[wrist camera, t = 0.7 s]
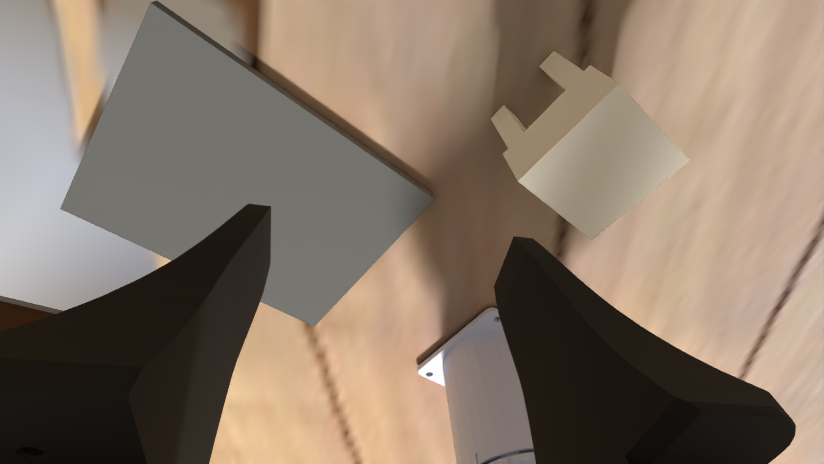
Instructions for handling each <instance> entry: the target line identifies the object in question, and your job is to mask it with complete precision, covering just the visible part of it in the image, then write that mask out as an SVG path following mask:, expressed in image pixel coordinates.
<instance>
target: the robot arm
mask: <svg viewBox="0 0 824 464" xmlns="http://www.w3.org/2000/svg"><path fill="white" fill-rule="evenodd" d="M270 263H271V206H265V205H257V204H247V205H246V206H244V207H243V208H242V209H241V210H239V211H238V212H237V213H236V214H235V215H233V216H232V217H231V218H230V219H229V220H227V221H226V222H225V223H224V224H222V225H221V226H220V227H219V228H217V229H216V230H215V231H214V232H212V233H211V234H210V235H208V236H207V237H206V238H204V239H203V240H202V241H200V242H199V243H198V244H196V245H195V246H193V247H192V248H190V249H189V250H187V251H186V252H184V253H183V254H182V255H180V256H179V257H177V258H176V259H174V260H172V261H171V262H169V263H167V264H166V265H164V266H162V267H160V268H159V269H157V270H155V271H153V272H151V273H150V274H148V275H146V276H144V277H142V278H140V279H138V280H136V281H134V282H132V283H130V284H127V285H125V286H123V287H121V288H119V289H117V290H114V291H112V292H110V293H108V294H106V295H104V296H101V297H99V298H96V299H94V300H92V301H89V302H86V303H84V304H81V305H79V306H77V307H73V308H71V309H68V310H65V311H62V312H60V313H57V314H54V315H51V316H48V317H45V318H42V319H39V320H36V321H33V322H29V323H26V324H23V325H20V326H16V327H13V328H10V329H6V330H3V331H0V464H209V461H210V457H211V453H212V449H213V445H214V441H215V437H216V433H217V430H218V426H219V422H220V418H221V414H222V410H223V407H224V403H225V399H226V396H227V392H228V388H229V385H230V381H231V377H232V374H233V371H234V368H235V365H236V362H237V359H238V356H239V354H240V351H241V349H242V346H243V344H244V341H245V339H246V336H247V333H248V331H249V328H250V326H251V323H252V321H253V318H254V316H255V313H256V311H257V308H258V305H259V303H260V300H261V298H262V295H263V292H264V288H265V284H266V280H267V276H268V272H269V268H270ZM494 289H495V295H496V302H497V308H498V309H496V308H488V309H486V310H485V311H484V312H482V313H481V314H480V315H479V316H478V317H476V318H475V319H474V320H473V321H472V322H470V323H469V324H468V325H467V326H466V327H464V328H463V329H462V330H461V331H460V332H458V333H457V334H456V335H455V336H454V337H452V338H451V339H450V340H449V341H448V342H446V343H445V344H444V345H443V346H442V347H440V348H439V349H438V350H437V351H436V352H434V353H433V354H432V355H431V356H430V357H428V358H427V359H426V360H425V361H424V362H422V363H421V364H420V365H419V366H418V367H417V372H418V374H419V375H421V376H423V377H425V378H428V379H430V380H432V381H434V382H436V383H438V384H441V385H443V386H445V388H446V395H447V401H448V408H449V415H450V421H451V428H452V435H453V441H454V448H455V455H456V461H457V464H768V463H770V462H771V461H772V460H773V459H774V458H776V457H777V456H778V455H779V454H781V453H782V452H783V451H784V450H785V449H786V448H787V447H788V446H789V445H790V444H791V442H792V440H793V438H794V436H795V429H796V425H795V423H794V422H793V420H792V419H791V418H790V416H789V415H788V414H787V413H786V412H785V411H784V409H783V408H782V407H781V406H780V405H779V403H778V402H777V401H776V400H775V399H774V398H773V396H772V395H771V394H770V393H769V392H767V391H765V390H763V389H761V388H759V387H756V386H754V385H752V384H750V383H747V382H745V381H743V380H740V379H738V378H736V377H734V376H731V375H729V374H727V373H725V372H722V371H720V370H718V369H716V368H714V367H712V366H710V365H708V364H706V363H704V362H702V361H700V360H698V359H696V358H694V357H692V356H691V355H689V354H687V353H685V352H683V351H681V350H680V349H678V348H676V347H674V346H672V345H671V344H669V343H667V342H666V341H664V340H662V339H661V338H659V337H657V336H656V335H654V334H652V333H651V332H649V331H648V330H646V329H644V328H643V327H641V326H640V325H638V324H637V323H635V322H634V321H633V320H631V319H630V318H628V317H627V316H625V315H624V314H622V313H621V312H620V311H618V310H617V309H615V308H614V307H613V306H611V305H610V304H609V303H608V302H606V301H605V300H604V299H603V298H601V297H600V296H599V295H598V294H596V293H595V292H594V291H593V290H591V289H590V288H589V287H588V286H587V285H585V284H584V283H583V282H582V281H581V280H580V279H578V278H577V277H576V276H575V275H574V274H573V273H572V272H571V271H569V270H568V269H567V268H566V267H565V266H564V265H563V264H562V263H561V262H559V261H558V260H557V259H556V258H555V257H554V256H553V255H552V254H551V253H549V252H548V251H547V250H546V249H545V248H544V247H542V246H541V245H540V244H539V243H538V242H536V241H535V240H534V239H531V238H523V237H515V236H514V237H513V240H512V242H511V245H510V248H509V250H508V253H507V255H506V258H505V260H504V263H503V265H502V268H501V270H500V273H499V275H498V278H497V281H496V283H495V286H494ZM496 317H498V318H496Z"/></svg>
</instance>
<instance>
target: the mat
mask: <svg viewBox="0 0 824 464" xmlns="http://www.w3.org/2000/svg"><path fill="white" fill-rule="evenodd" d="M434 200H435V198H434V194H433V193H432V192H430V191H429V190H427V189H426V188H424V187H423V186H421V185H420V184H419V183H417V182H416V181H414V180H413V179H411V178H410V177H409V176H407V175H406V174H404V173H403V172H401V171H400V170H399V169H397V168H396V167H394V166H393V165H391V164H390V163H389V162H387V161H386V160H384V159H383V158H381V157H380V156H379V155H377V154H376V153H374V152H373V151H371V150H370V149H369V148H367V147H366V146H364V145H363V144H361V143H360V142H358V141H357V140H356V139H354V138H353V137H351V136H350V135H348V134H347V133H346V132H344V131H343V130H341V129H340V128H338V127H337V126H336V125H334V124H333V123H331V122H330V121H328V120H327V119H326V118H324V117H323V116H321V115H320V114H318V113H317V112H316V111H314V110H313V109H311V108H310V107H308V106H307V105H306V104H304V103H303V102H301V101H300V100H298V99H297V98H295V97H294V96H293V95H291V94H290V93H288V92H287V91H285V90H284V89H283V88H281V87H280V86H278V85H277V84H275V83H274V82H273V81H271V80H270V79H268V78H267V77H265V76H264V75H263V74H261V73H260V72H258V71H257V70H255V69H254V68H253V67H251V66H250V65H248V64H247V63H245V62H244V61H243V60H241V59H240V58H238V57H237V56H235V55H234V54H233V53H231V52H230V51H228V50H227V49H225V48H224V47H222V46H221V45H220V44H218V43H217V42H215V41H214V40H212V39H211V38H209V37H208V36H207V35H205V34H204V33H202V32H201V31H200V30H198V29H197V28H195V27H194V26H192V25H191V24H189V23H188V22H187V21H185V20H184V19H182V18H181V17H180V16H178V15H177V14H175V13H174V12H172V11H171V10H169V9H168V8H167V7H165V6H164V5H162V4H161V3H159V2H158V1H155V2H152V3H150V6H149V8H148V10H147V13H146V15H145V17H144V19H143V22H142V24H141V26H140V29H139V31H138V33H137V35H136V38H135V40H134V42H133V44H132V47H131V49H130V51H129V53H128V56H127V58H126V60H125V63H124V65H123V67H122V69H121V72H120V74H119V76H118V78H117V81H116V83H115V85H114V88H113V90H112V92H111V94H110V97H109V99H108V101H107V103H106V106H105V108H104V110H103V113H102V115H101V117H100V119H99V122H98V124H97V126H96V129H95V131H94V133H93V135H92V138H91V140H90V142H89V144H88V147H87V149H86V151H85V154H84V156H83V158H82V160H81V163H80V165H79V167H78V169H77V172H76V174H75V176H74V179H73V181H72V183H71V185H70V188H69V190H68V192H67V195H66V197H65V199H64V202H63V204H62V206H61V208H60V209H62V210H64V211H66V212H69V213H70V214H73V215H75V216H77V217H79V218H82V219H84V220H86V221H88V222H90V223H92V224H94V225H96V226H98V227H101V228H103V229H105V230H107V231H109V232H112V233H114V234H116V235H118V236H120V237H122V238H124V239H127V240H129V241H131V242H133V243H135V244H137V245H140V246H142V247H144V248H146V249H148V250H150V251H152V252H155V253H157V254H159V255H161V256H163V257H165V258H168V259H170V260H174V259H176V258H177V257H179V256H180V255H182V254H183V253H184V252H186V251H187V250H189V249H190V248H192V247H193V246H195V245H196V244H198V243H199V242H200V241H202V240H203V239H204V238H206V237H207V236H208V235H210V234H211V233H212V232H214V231H215V230H216V229H217V228H219V227H220V226H221V225H222V224H224V223H225V222H226V221H227V220H229V219H230V218H231V217H232V216H233V215H235V214H236V213H237V212H238V211H239V210H241V209H242V208H243V207H244V206H246V205H247V204H257V205H265V206H271V263H270V268H269V272H268V276H267V280H266V284H265V288H264V292H263V295H262V298H261V300H260V302H262V303H265V304H267V305H269V306H271V307H273V308H275V309H278V310H280V311H282V312H284V313H286V314H288V315H290V316H293V317H295V318H297V319H299V320H301V321H303V322H306V323H308V324H310V325H312V326H315V325H316V324H317V323H318V322H319V321H320V320H321V319H322V318H323V317H324V316H325V315H326V314H327V313H328V312H329V311H330V309H331V308H332V307H333V306H334V305H335V304H336V303H337V302H338V301H339V300H340V299H341V298H342V297H343V296H344V295H345V294H346V293H347V292H348V291H349V289H350V288H351V287H352V286H353V285H354V284H355V283H356V282H357V281H358V280H359V279H360V278H361V277H362V276H363V275H364V274H365V273H366V272H367V271H368V269H369V268H370V267H371V266H372V265H373V264H374V263H375V262H376V261H377V260H378V259H379V258H380V257H381V256H382V255H383V254H384V253H385V252H386V251H387V249H388V248H389V247H390V246H391V245H392V244H393V243H394V242H395V241H396V240H397V239H398V238H399V237H400V236H401V235H402V234H403V233H404V232H405V231H406V229H407V228H408V227H409V226H410V225H411V224H412V223H413V222H414V221H415V220H416V219H417V218H418V217H419V216H420V215H421V214H422V213H423V212H424V211H425V209H426V208H427V207H428V206H429V205H430V204H431V203H432V202H433V201H434Z"/></svg>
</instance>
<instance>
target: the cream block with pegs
mask: <svg viewBox="0 0 824 464" xmlns="http://www.w3.org/2000/svg"><path fill="white" fill-rule="evenodd" d="M539 67H540V68H541V69H542V70H543V71H544V72H545V73H546V74H547V75H548V76H549V77H550V78H551V79H552V80H553V81H555V82H556V83H557V84H558V85H559V86H560V87H562V88H563V89H564V90H565V91H564V92H563V93H562V94H561V95H560V96H559V97H558V98H557V99H556V100H555V101H554V102H553V103H552V104H551V105H550V106H549V107H548V108H547V109H546V110H545V111H544V112H543V113H542V114H541V115H540V116H539V117H538V118H537V119H536V120H535V121H534V123H533V124H532V125H531V126H530V127H529V128H528V129H527V130H526V129H525V127H524V126H523V125H522V123H521V122H520V121H519V119H518V118H517V117H516V116H515V115H514V114H513V113H512V112H511V111H510V110H509V109H508V108H506V107H505V106H504V105H503V106H502V107H501V108H500V109H499V110H498V111H497V112H496V113H495V115H494V116H493V117H492V118H491V121H492V122H493V124H494V126H495V127H496V129H497V131H498V132H499V134H500V136H501V137H502V139H503V141H504V142H505V144H506V146H507V147H508V149H507V150H506V151H505V152H504V153H503V156H504V158H505V159H506V161H507V163H508V165H509V167H510V168H511V170H512V172H513V174H514V176H515V177H516V179H517V181H518V182H519V183H521V184H522V185H523V186H524V187H526V188H527V189H528V190H529V191H531V192H532V193H533V194H534V195H536V196H537V197H538V198H539V199H541V200H542V201H543V202H544V203H546V204H547V205H548V206H549V207H551V208H552V209H553V210H554V211H556V212H557V213H558V214H559V215H561V216H562V217H563V218H564V219H566V220H567V221H568V222H569V223H571V224H572V225H573V226H574V227H576V228H577V229H578V230H579V231H581V232H582V233H583V234H584V235H586V236H587V237H588V238H589V239H591V240H593V239H594V238H595V237H596V236H597V235H599V234H600V233H601V232H602V231H604V230H605V229H606V228H607V227H609V226H610V225H611V224H612V223H614V222H615V221H616V220H617V219H618V218H620V217H621V216H622V215H623V214H625V213H626V212H627V211H628V210H630V209H631V208H632V207H633V206H635V205H636V204H637V203H638V202H639V201H641V200H642V199H643V198H644V197H646V196H647V195H648V194H649V193H651V192H652V191H653V190H654V189H656V188H657V187H658V186H659V185H660V184H662V183H663V182H664V181H665V180H667V179H668V178H669V177H670V176H672V175H673V174H674V173H675V172H676V171H678V170H679V169H680V168H681V167H683V166H684V165H685V164H686V163H688V162H689V161H690V160H689V159H688V158H687V157H686V156H685V155H684V153H683V152H682V151H681V150H680V149H679V148H678V147H677V146H676V145H675V144H674V143H673V141H672V140H671V139H670V138H669V137H668V136H667V135H666V134H665V133H664V132H663V131H662V129H661V128H660V127H659V126H658V125H657V124H656V123H655V122H654V121H653V120H652V119H651V117H650V116H649V115H648V114H647V113H646V112H645V111H644V110H643V109H642V108H641V107H640V106H639V104H638V103H637V102H636V101H635V100H634V99H633V98H632V97H631V96H630V95H629V94H628V92H627V91H626V90H625V89H624V88H623V87H622V86H621V85H620V84H619V83H618V82H616V81H615V80H613V79H611V78H610V77H608V76H607V75H605V74H604V73H602V72H600V71H599V70H597V69H596V68H594V67H593V66H591V65H589V66H588V67H587V69H586V70H585V71H583V70H582V69H580V68H579V67H577V66H576V65H574V64H573V63H571V62H570V61H568V60H567V59H565V58H564V57H563V56H561V55H560V54H558V53H557V52H555V51H553V52H552V53H551V54H550V55H549V56H548V57H547V58H546V59H545V60H544V61H543V63H542V64H541V65H540V66H539Z"/></svg>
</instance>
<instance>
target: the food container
mask: <svg viewBox="0 0 824 464" xmlns="http://www.w3.org/2000/svg"><path fill="white" fill-rule="evenodd" d="M60 312H62V311H61V310H57V309H53V308H48V307H45V306H40V305H36V304H32V303H28V302H23V301H20V300H15V299H11V298H7V297H2V296H0V331H3V330H6V329H10V328H13V327H16V326H20V325H23V324H26V323H29V322H33V321H36V320H39V319H42V318H45V317H48V316H51V315H54V314H57V313H60Z"/></svg>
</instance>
